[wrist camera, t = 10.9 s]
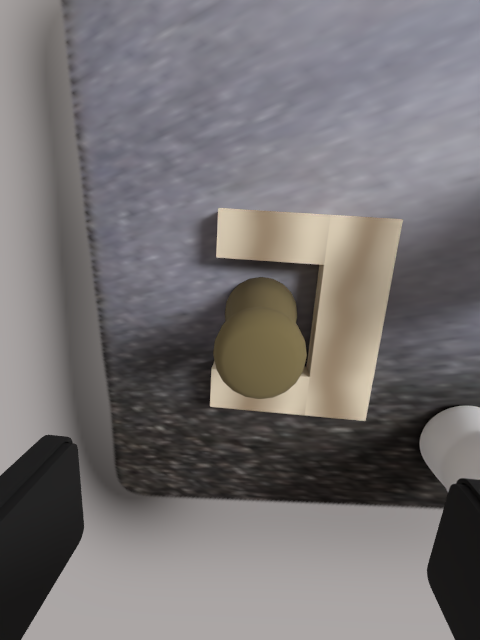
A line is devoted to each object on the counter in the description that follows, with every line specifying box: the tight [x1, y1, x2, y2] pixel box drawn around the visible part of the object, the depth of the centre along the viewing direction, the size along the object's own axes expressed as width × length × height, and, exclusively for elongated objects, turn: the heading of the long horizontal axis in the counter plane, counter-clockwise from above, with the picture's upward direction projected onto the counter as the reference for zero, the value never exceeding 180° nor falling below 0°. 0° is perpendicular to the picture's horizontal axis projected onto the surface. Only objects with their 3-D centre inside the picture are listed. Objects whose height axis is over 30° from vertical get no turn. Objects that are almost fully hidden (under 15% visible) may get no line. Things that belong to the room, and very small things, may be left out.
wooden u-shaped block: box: [210, 208, 403, 421], centre depth 26 cm, size 13×16×2 cm
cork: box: [213, 277, 307, 399], centre depth 22 cm, size 6×6×11 cm
